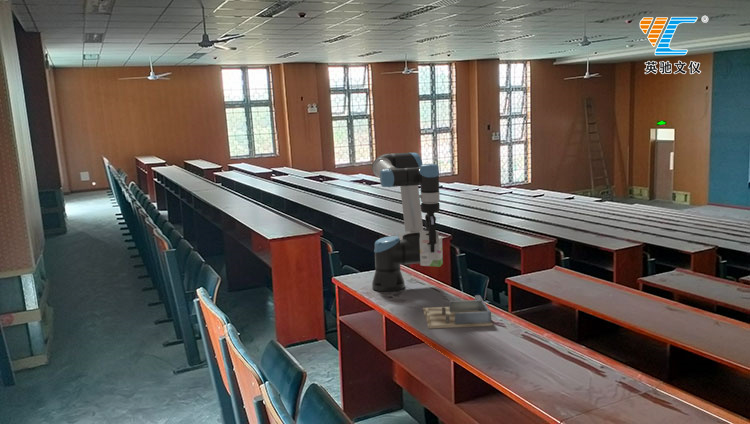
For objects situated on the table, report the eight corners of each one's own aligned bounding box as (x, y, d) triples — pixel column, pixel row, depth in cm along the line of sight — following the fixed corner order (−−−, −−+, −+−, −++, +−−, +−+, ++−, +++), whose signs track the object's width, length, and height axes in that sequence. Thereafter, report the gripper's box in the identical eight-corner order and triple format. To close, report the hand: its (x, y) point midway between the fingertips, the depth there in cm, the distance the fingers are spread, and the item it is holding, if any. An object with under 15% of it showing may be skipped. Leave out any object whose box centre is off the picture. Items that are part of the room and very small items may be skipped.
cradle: (422, 310, 239) (422, 300, 239) (481, 307, 240) (481, 298, 239) (428, 328, 219) (428, 318, 218) (492, 325, 219) (492, 315, 218)
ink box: (443, 264, 242) (442, 229, 239) (440, 267, 237) (439, 231, 235) (423, 262, 245) (422, 228, 243) (419, 265, 241) (418, 230, 238)
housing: (447, 306, 239) (446, 296, 239) (479, 304, 240) (479, 295, 239) (455, 324, 219) (455, 313, 218) (491, 322, 219) (491, 312, 218)
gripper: (418, 199, 246) (419, 252, 250) (423, 206, 227) (424, 264, 231) (436, 198, 246) (437, 251, 250) (442, 205, 227) (443, 263, 231)
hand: (431, 257), depth 241 cm, fingers closed on ink box, 7 cm apart
